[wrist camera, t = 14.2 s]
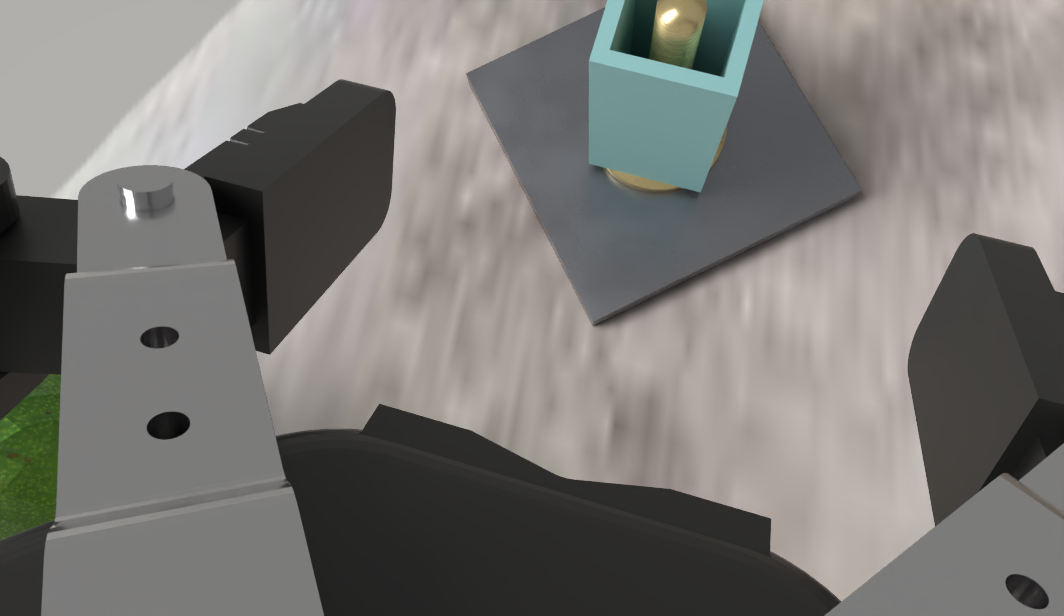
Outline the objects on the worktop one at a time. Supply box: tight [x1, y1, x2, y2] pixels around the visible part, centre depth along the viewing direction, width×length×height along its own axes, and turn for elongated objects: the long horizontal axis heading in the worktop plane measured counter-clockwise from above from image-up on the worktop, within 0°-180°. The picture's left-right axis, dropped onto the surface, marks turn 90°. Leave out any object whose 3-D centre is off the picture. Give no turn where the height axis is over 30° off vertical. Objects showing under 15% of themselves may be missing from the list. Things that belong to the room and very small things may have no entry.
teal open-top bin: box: [589, 0, 764, 193], centre depth 35 cm, size 5×5×10 cm
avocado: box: [0, 374, 61, 540], centre depth 35 cm, size 8×8×12 cm
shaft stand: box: [466, 0, 861, 326], centre depth 36 cm, size 14×14×12 cm
